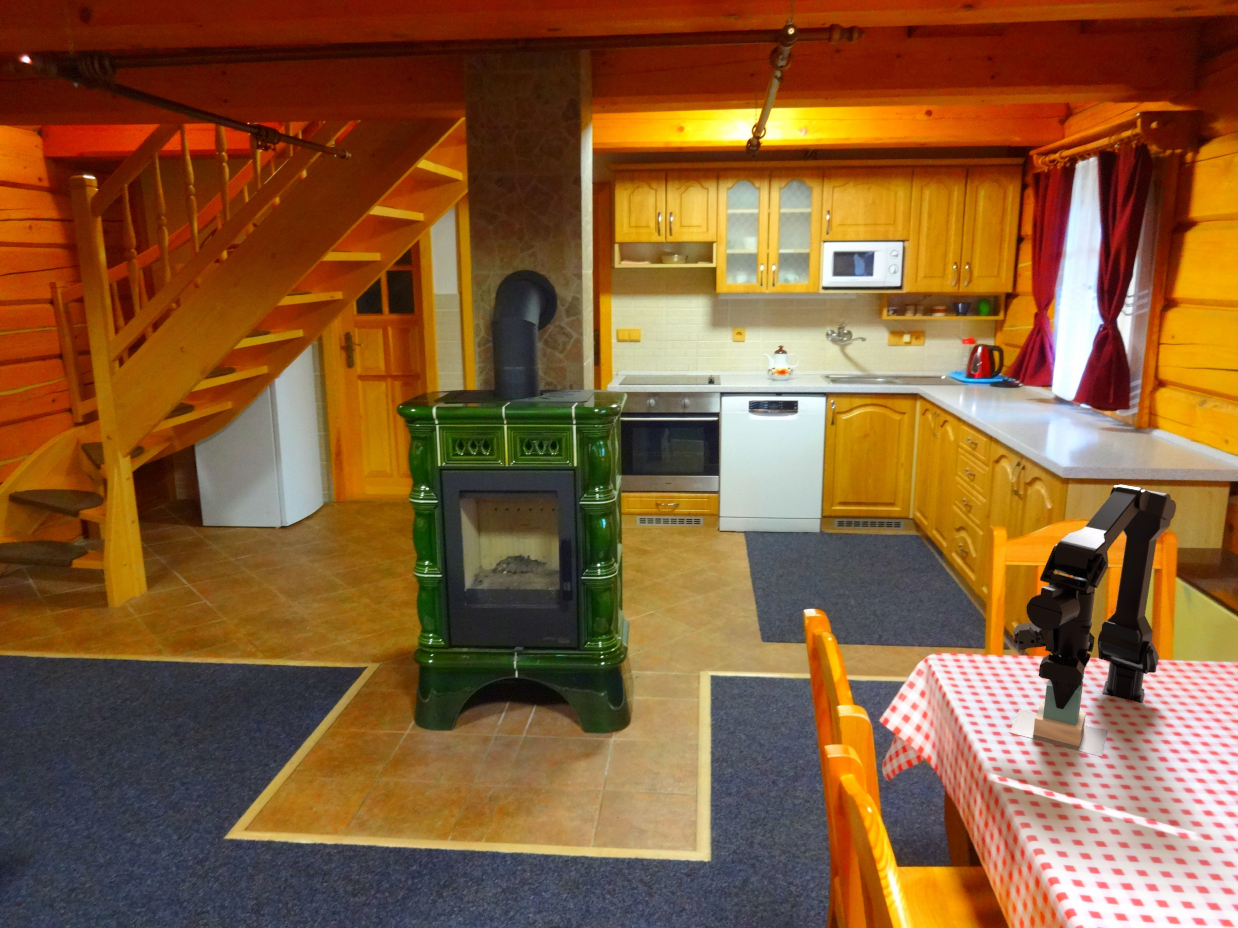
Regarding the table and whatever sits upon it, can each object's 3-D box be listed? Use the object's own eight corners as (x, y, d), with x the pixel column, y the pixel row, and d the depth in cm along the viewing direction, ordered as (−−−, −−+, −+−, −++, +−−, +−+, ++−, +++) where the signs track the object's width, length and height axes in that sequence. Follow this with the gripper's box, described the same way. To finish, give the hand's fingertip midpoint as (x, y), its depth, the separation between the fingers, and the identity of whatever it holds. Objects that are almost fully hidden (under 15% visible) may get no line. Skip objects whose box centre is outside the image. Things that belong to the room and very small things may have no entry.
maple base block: (1039, 717, 155) (1041, 701, 154) (1084, 728, 151) (1085, 712, 150) (1033, 734, 149) (1034, 718, 148) (1078, 746, 145) (1080, 729, 144)
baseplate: (1019, 711, 158) (1020, 708, 158) (1107, 733, 150) (1107, 730, 150) (1009, 735, 150) (1009, 732, 150) (1101, 759, 142) (1101, 756, 142)
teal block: (1047, 705, 153) (1050, 673, 151) (1079, 713, 150) (1083, 681, 149) (1043, 717, 149) (1046, 684, 147) (1075, 725, 146) (1079, 692, 145)
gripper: (1029, 589, 157) (1021, 669, 161) (1009, 622, 142) (1001, 710, 145) (1099, 601, 151) (1089, 684, 155) (1086, 637, 136) (1075, 729, 139)
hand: (1062, 700), depth 149 cm, fingers open, 6 cm apart
